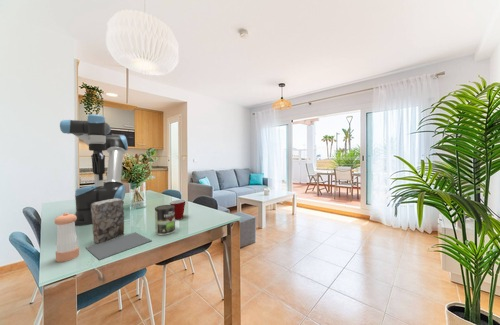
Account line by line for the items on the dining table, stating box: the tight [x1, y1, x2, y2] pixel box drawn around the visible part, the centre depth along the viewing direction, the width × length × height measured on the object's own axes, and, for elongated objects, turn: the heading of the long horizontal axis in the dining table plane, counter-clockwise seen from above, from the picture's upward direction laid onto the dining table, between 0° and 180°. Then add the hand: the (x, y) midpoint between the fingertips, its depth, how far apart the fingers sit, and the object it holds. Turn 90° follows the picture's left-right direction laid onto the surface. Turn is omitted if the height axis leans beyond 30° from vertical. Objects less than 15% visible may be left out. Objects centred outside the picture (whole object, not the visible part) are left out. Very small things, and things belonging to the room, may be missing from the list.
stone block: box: [91, 198, 125, 244], centre depth 104 cm, size 13×7×20 cm, turn 158°
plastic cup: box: [168, 199, 187, 220], centre depth 135 cm, size 11×11×12 cm
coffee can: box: [154, 204, 176, 236], centre depth 112 cm, size 10×10×14 cm
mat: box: [85, 232, 152, 261], centre depth 96 cm, size 18×22×1 cm
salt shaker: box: [54, 212, 80, 263], centre depth 84 cm, size 7×7×19 cm
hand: (99, 185), depth 110 cm, fingers open, 3 cm apart
